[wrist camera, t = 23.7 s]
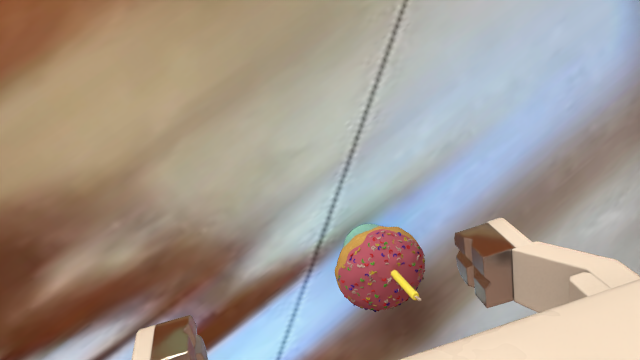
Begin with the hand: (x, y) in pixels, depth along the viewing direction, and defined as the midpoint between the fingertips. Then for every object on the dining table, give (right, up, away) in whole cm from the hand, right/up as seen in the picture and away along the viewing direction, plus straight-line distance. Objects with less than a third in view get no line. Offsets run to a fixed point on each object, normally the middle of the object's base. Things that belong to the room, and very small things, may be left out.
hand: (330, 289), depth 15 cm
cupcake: (+4, -3, +35) cm, 36 cm away
